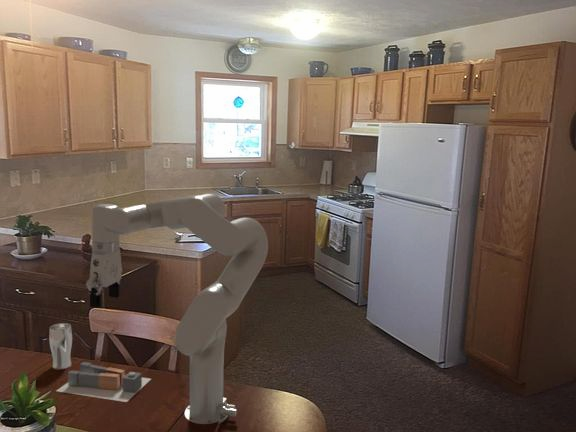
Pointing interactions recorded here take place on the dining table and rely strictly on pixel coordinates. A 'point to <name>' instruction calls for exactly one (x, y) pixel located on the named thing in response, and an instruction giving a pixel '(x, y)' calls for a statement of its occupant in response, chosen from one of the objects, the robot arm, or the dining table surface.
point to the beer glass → (61, 345)
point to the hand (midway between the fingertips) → (104, 301)
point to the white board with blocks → (124, 393)
